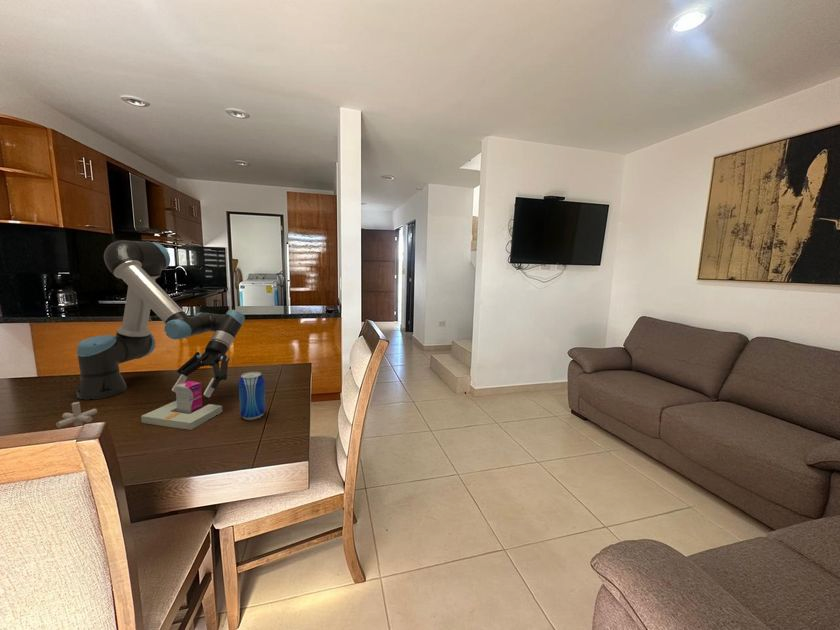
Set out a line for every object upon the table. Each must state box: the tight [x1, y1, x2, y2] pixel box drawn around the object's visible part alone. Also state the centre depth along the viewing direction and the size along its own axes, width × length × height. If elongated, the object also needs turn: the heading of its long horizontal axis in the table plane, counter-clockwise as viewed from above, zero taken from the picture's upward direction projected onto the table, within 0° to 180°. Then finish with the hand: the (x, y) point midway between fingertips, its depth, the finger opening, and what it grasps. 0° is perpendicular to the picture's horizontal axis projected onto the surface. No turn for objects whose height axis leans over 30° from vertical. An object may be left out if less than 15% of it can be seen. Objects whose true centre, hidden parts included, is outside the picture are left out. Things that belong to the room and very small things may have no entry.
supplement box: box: [175, 380, 203, 414], centre depth 123 cm, size 6×6×12 cm
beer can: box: [238, 371, 266, 421], centre depth 123 cm, size 8×8×16 cm
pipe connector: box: [55, 401, 98, 429], centre depth 108 cm, size 10×10×10 cm
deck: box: [140, 400, 223, 431], centre depth 121 cm, size 14×20×3 cm
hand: (190, 393), depth 123 cm, fingers open, 13 cm apart
